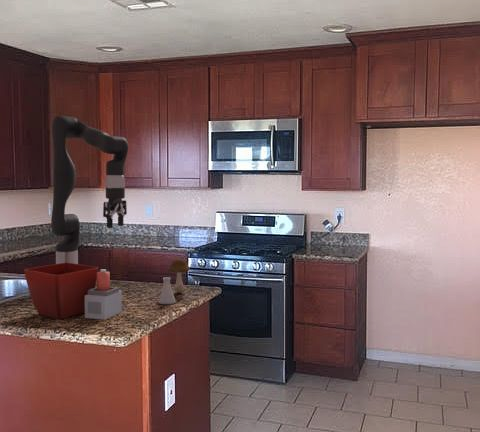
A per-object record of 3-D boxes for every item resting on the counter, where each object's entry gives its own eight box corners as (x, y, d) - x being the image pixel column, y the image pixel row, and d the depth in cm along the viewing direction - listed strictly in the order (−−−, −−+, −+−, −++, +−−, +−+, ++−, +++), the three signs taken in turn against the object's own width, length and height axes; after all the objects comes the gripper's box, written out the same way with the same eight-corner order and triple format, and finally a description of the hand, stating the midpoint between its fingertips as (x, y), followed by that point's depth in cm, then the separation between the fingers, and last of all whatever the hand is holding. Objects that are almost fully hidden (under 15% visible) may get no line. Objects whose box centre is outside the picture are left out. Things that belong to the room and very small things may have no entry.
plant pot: (57, 323, 196) (56, 274, 195) (23, 315, 207) (22, 268, 206) (100, 312, 212) (99, 267, 210) (67, 305, 223) (66, 262, 221)
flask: (155, 301, 230) (155, 277, 229) (173, 300, 232) (173, 276, 232) (159, 305, 223) (159, 280, 222) (178, 304, 226) (177, 279, 225)
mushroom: (188, 289, 253) (188, 256, 252) (191, 295, 242) (191, 260, 241) (167, 290, 251) (167, 256, 250) (169, 295, 240) (169, 260, 239)
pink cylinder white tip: (94, 293, 206) (94, 270, 205) (100, 291, 210) (100, 268, 210) (105, 294, 204) (105, 271, 204) (112, 292, 209) (111, 269, 208)
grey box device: (84, 318, 203) (84, 291, 202) (102, 310, 215) (102, 285, 214) (104, 319, 201) (103, 293, 200) (121, 311, 213) (121, 286, 212)
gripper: (116, 185, 237) (116, 224, 239) (97, 186, 224) (97, 228, 225) (132, 186, 235) (132, 225, 236) (114, 187, 221) (114, 229, 223)
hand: (115, 226), depth 231 cm, fingers open, 8 cm apart
